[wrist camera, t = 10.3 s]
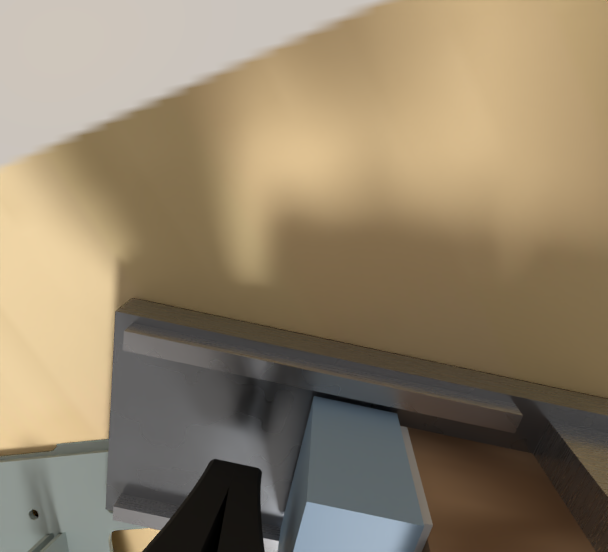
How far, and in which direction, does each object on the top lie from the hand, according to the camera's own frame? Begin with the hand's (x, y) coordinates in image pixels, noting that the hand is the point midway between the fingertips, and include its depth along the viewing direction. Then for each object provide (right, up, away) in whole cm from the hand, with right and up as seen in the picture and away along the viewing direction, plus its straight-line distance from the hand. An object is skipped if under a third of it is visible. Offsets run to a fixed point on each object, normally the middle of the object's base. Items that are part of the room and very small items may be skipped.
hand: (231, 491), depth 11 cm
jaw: (+3, 0, +1) cm, 3 cm away
